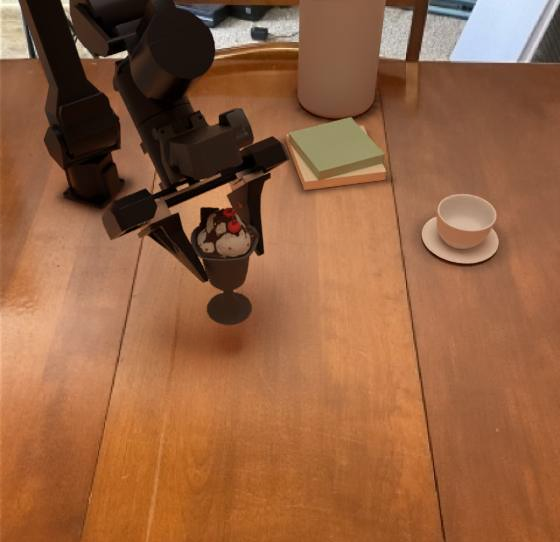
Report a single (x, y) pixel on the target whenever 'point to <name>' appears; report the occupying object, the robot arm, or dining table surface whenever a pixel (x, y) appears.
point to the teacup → (462, 229)
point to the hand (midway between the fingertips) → (233, 268)
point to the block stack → (335, 155)
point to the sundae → (225, 260)
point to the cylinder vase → (339, 55)
